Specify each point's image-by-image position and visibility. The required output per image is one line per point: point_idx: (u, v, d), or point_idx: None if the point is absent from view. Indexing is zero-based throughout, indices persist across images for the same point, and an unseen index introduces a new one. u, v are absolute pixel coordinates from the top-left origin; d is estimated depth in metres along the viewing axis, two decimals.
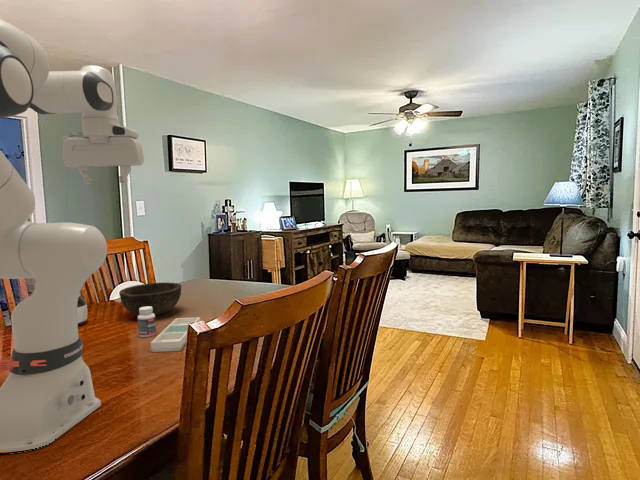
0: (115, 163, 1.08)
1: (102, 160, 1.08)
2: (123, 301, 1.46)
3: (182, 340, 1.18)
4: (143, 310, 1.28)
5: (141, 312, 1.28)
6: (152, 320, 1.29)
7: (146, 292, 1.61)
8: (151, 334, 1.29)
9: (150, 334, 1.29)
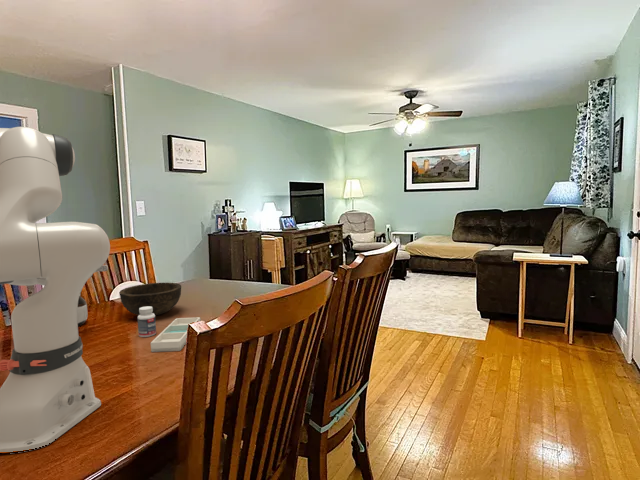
0: None
1: None
2: (123, 301, 1.46)
3: (182, 340, 1.18)
4: (143, 310, 1.28)
5: (141, 312, 1.28)
6: (152, 320, 1.29)
7: (146, 292, 1.61)
8: (151, 334, 1.29)
9: (150, 334, 1.29)
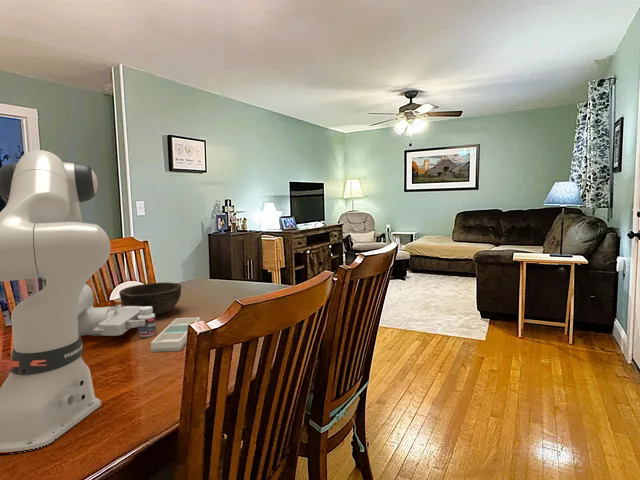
0: (137, 311, 1.34)
1: (130, 314, 1.30)
2: (123, 301, 1.46)
3: (182, 340, 1.18)
4: (143, 310, 1.28)
5: (141, 312, 1.28)
6: (152, 320, 1.29)
7: (146, 292, 1.61)
8: (151, 334, 1.29)
9: (150, 334, 1.29)
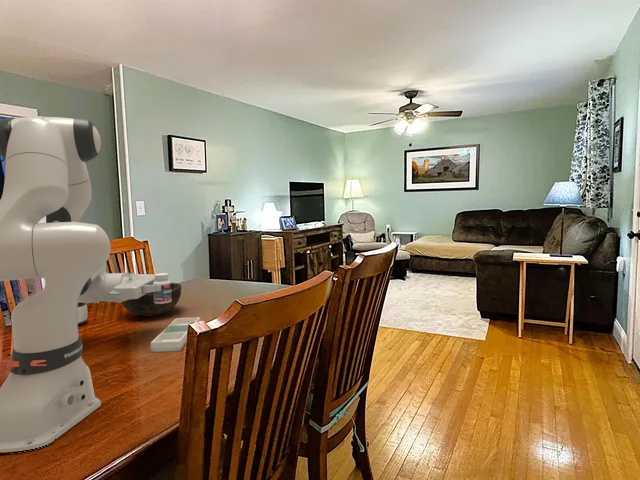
0: (152, 278, 1.30)
1: (145, 280, 1.27)
2: (123, 301, 1.46)
3: (182, 340, 1.18)
4: (159, 276, 1.24)
5: (157, 278, 1.25)
6: (168, 287, 1.25)
7: None
8: (167, 301, 1.25)
9: (166, 301, 1.25)
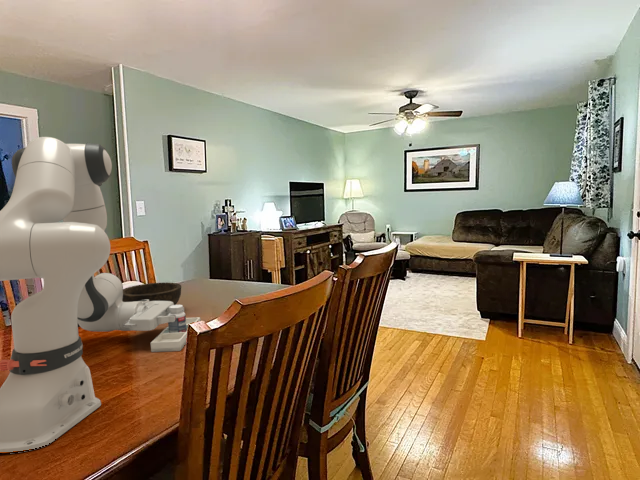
0: (166, 306, 1.30)
1: (160, 308, 1.26)
2: (123, 301, 1.46)
3: (182, 340, 1.18)
4: (174, 308, 1.24)
5: (172, 311, 1.24)
6: (183, 319, 1.25)
7: (146, 292, 1.61)
8: None
9: None
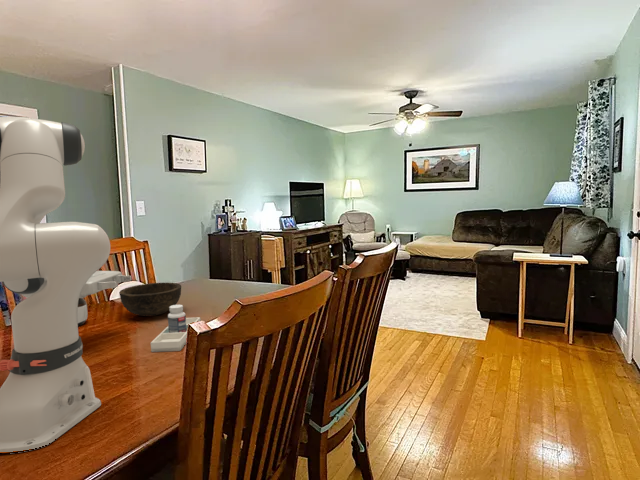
0: (112, 274, 1.28)
1: (104, 276, 1.25)
2: (123, 301, 1.46)
3: (182, 340, 1.18)
4: (174, 308, 1.24)
5: (172, 310, 1.25)
6: (183, 319, 1.25)
7: (146, 292, 1.61)
8: None
9: None
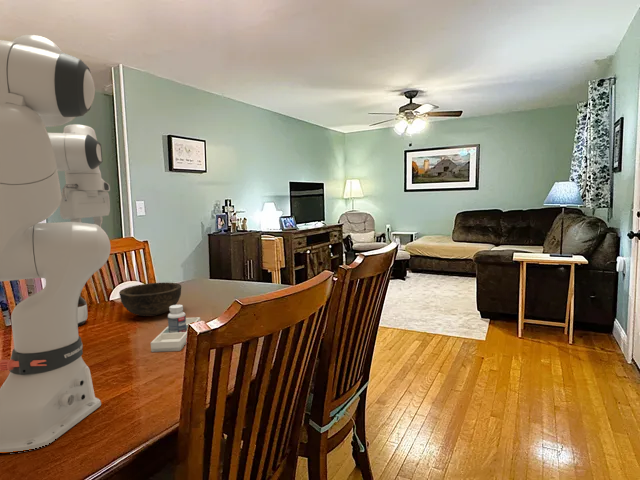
0: (100, 214, 1.19)
1: (94, 212, 1.16)
2: (123, 301, 1.46)
3: (182, 340, 1.18)
4: (174, 308, 1.24)
5: (172, 310, 1.24)
6: (183, 319, 1.25)
7: (146, 292, 1.61)
8: None
9: None
